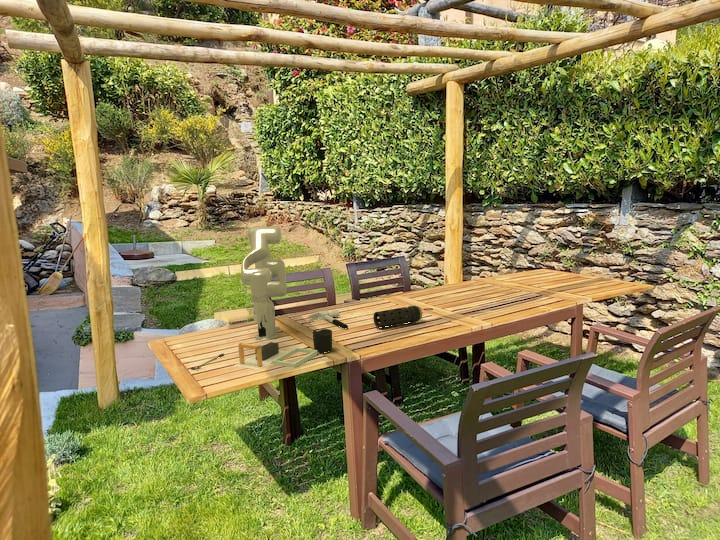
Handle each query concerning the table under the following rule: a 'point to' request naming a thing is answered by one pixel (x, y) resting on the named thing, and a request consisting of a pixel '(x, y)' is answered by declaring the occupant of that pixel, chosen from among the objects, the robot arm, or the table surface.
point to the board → (252, 361)
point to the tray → (297, 363)
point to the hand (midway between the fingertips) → (262, 336)
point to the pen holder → (322, 340)
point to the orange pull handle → (250, 346)
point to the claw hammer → (327, 317)
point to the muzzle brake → (397, 316)
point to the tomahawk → (207, 362)
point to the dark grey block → (268, 350)
